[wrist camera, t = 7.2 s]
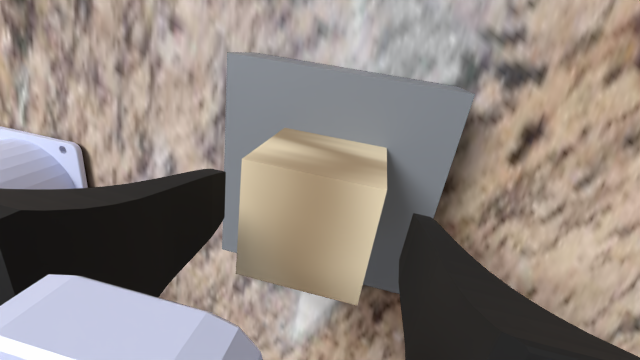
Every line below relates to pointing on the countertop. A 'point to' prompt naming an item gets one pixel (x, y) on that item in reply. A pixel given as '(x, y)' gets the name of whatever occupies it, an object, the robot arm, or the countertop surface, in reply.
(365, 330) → the countertop surface
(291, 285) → the maple cube
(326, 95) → the base block
